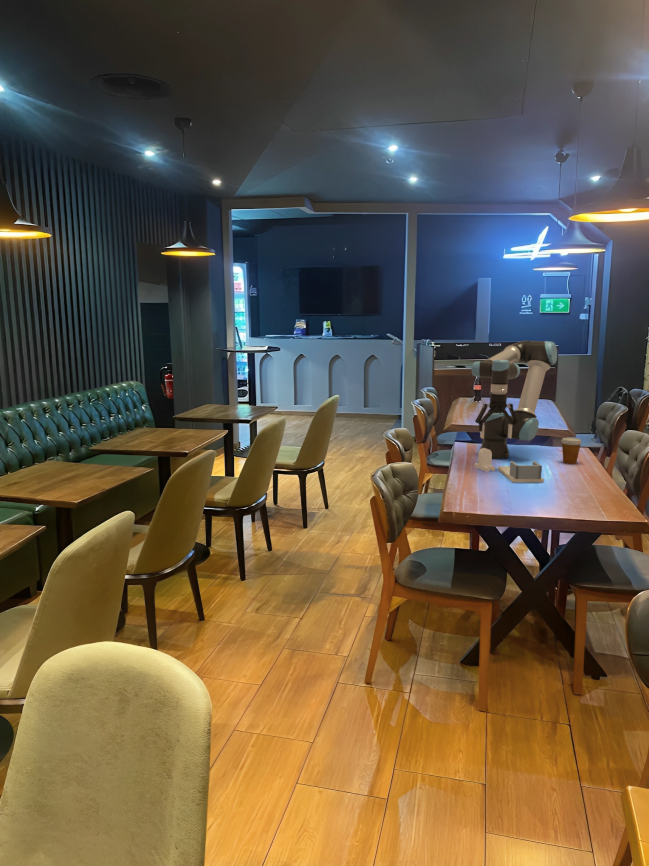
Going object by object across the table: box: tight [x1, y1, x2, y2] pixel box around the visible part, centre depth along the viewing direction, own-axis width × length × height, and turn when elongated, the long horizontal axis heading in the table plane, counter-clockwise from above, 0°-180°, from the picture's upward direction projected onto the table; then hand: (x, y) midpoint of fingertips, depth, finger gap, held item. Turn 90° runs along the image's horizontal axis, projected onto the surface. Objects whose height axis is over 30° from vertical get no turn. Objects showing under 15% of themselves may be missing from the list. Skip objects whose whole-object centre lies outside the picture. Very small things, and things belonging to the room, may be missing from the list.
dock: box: [497, 460, 545, 483], centre depth 287 cm, size 23×14×8 cm, turn 1°
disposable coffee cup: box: [560, 436, 583, 465], centre depth 311 cm, size 10×10×12 cm
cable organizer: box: [474, 448, 496, 472], centre depth 299 cm, size 5×10×10 cm, turn 22°
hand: (495, 438), depth 294 cm, fingers open, 13 cm apart
